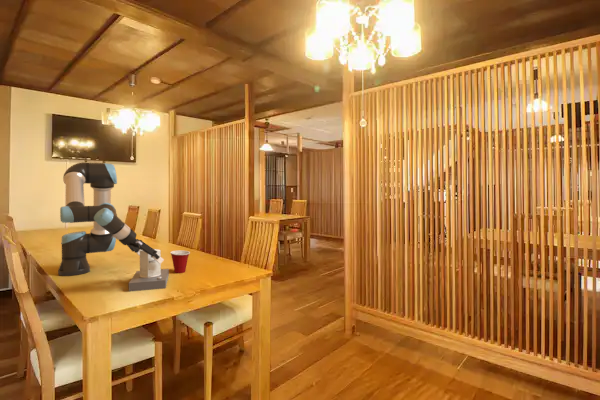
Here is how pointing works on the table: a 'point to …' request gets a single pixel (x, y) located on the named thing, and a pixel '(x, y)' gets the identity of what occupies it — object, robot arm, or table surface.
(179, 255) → the plastic cup
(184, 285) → the table surface
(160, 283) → the grey base plate
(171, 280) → the table surface
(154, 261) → the supplement box
